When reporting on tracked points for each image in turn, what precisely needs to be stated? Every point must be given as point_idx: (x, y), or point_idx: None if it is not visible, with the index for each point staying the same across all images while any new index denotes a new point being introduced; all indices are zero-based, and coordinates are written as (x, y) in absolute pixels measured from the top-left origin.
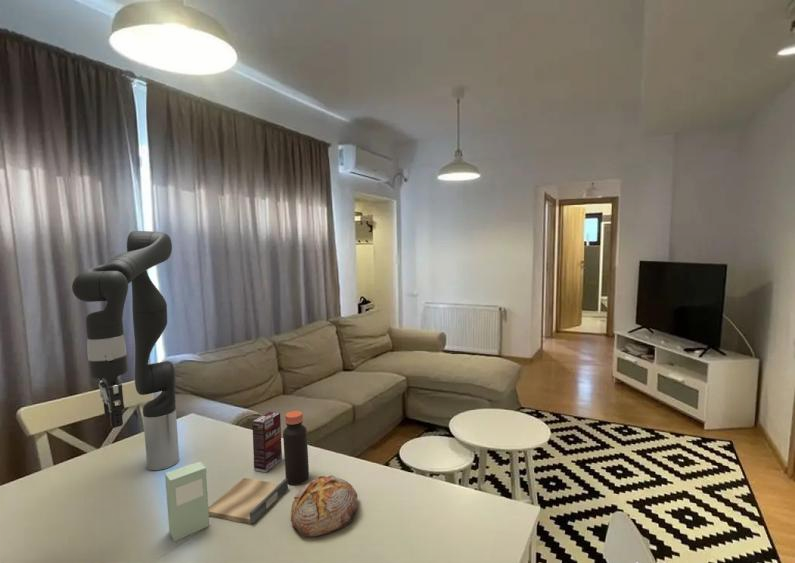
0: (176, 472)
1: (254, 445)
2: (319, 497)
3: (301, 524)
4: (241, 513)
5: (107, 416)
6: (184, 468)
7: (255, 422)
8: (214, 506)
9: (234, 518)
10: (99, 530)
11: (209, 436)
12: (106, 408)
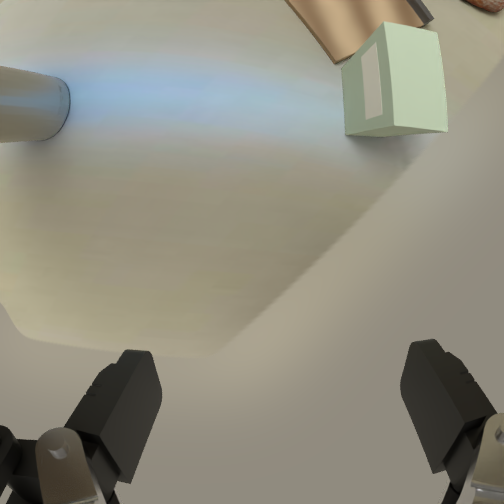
0: (413, 98)
1: None
2: None
3: (499, 7)
4: (397, 22)
5: (159, 391)
6: (403, 71)
7: None
8: (335, 42)
9: None
10: (233, 242)
11: (12, 28)
12: (140, 438)
